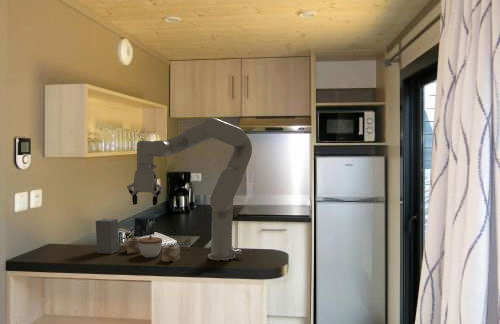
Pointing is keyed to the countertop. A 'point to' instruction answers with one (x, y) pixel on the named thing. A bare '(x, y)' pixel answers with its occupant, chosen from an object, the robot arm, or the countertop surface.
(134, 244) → the marked block far
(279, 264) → the countertop surface
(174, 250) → the marked block near
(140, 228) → the box
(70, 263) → the countertop surface
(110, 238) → the skincare box
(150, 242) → the lidded jar
